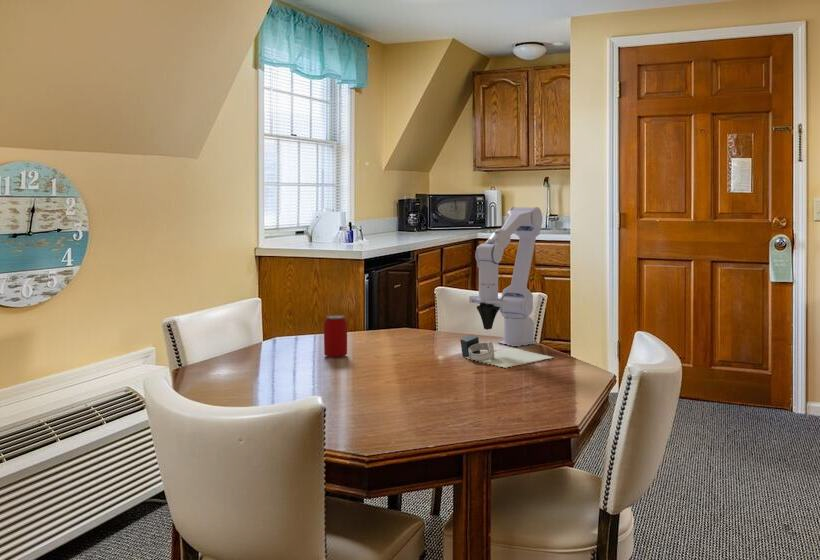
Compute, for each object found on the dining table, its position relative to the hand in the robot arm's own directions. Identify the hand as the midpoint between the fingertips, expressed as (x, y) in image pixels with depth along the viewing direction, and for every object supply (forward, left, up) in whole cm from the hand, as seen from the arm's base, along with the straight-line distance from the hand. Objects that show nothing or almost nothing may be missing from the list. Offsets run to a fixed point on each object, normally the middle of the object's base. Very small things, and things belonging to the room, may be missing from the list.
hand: (487, 328), depth 221 cm
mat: (0, +9, -8) cm, 12 cm away
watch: (+7, -2, -4) cm, 8 cm away
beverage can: (+38, -25, -8) cm, 46 cm away
